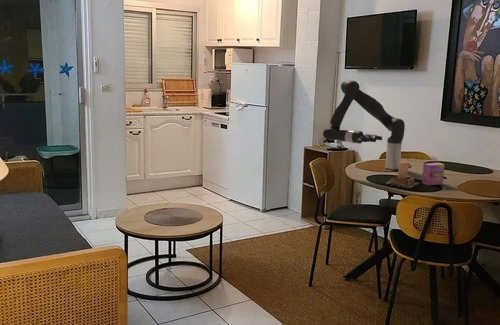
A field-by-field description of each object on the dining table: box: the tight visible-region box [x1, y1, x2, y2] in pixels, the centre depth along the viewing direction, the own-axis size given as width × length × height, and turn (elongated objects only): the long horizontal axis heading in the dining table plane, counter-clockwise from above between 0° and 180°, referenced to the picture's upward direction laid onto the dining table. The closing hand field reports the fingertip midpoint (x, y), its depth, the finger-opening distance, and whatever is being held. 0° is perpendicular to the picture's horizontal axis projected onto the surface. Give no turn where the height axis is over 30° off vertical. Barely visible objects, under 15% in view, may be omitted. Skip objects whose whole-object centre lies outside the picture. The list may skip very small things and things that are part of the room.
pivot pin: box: [397, 161, 409, 180], centre depth 286 cm, size 5×5×12 cm
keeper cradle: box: [385, 174, 420, 189], centre depth 287 cm, size 14×15×4 cm
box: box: [421, 162, 446, 186], centre depth 288 cm, size 10×6×12 cm, turn 105°
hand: (378, 139), depth 294 cm, fingers open, 8 cm apart
